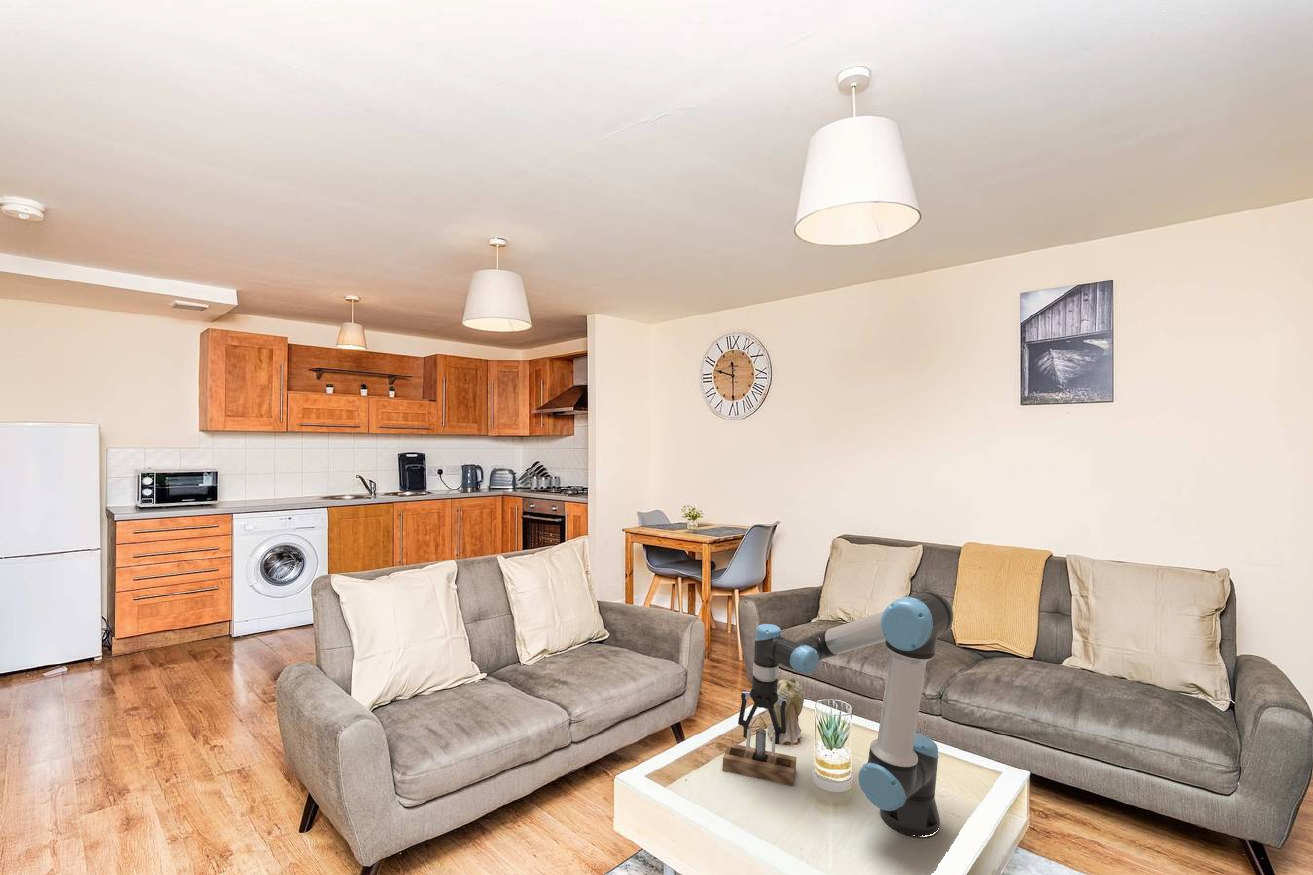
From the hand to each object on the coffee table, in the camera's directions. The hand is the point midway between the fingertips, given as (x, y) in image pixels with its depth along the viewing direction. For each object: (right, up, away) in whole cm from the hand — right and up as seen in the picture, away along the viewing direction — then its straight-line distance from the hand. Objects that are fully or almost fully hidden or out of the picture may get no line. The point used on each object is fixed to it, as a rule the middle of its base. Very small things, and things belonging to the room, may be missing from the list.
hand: (760, 750), depth 195 cm
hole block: (0, -6, 0) cm, 6 cm away
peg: (0, -6, 0) cm, 6 cm away
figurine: (+11, -6, +21) cm, 24 cm away
